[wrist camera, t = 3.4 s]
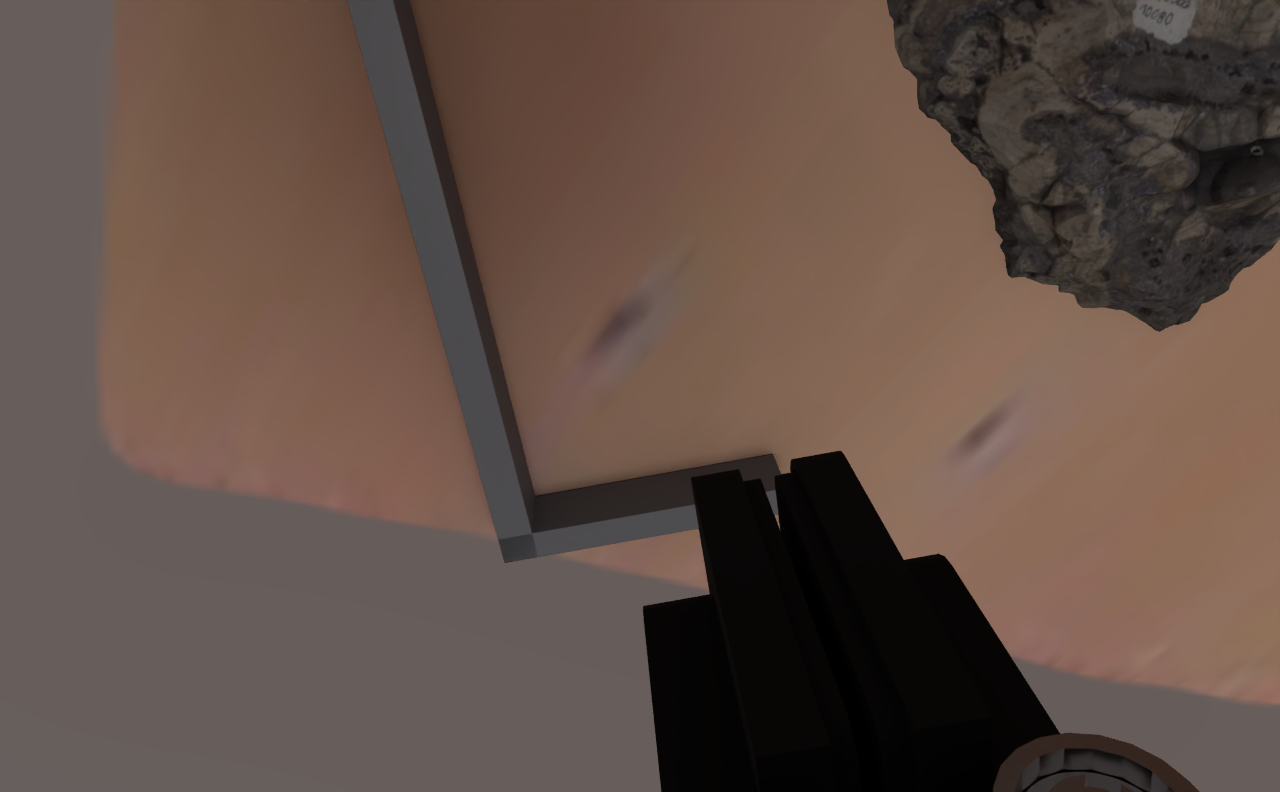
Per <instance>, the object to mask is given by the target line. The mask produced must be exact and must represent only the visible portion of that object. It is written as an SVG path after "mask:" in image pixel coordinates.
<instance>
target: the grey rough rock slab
mask: <svg viewBox="0 0 1280 792" xmlns="http://www.w3.org/2000/svg"><path fill="white" fill-rule="evenodd" d="M887 4H888V9H889V15H890V16H891V17H892V18H893V20H894V25H893V26H894V36H895V48H896V51H897V53H898V55H899V58H900V60H901V62H902V65H903V67H904V68H906V69H907V70H909V71H910V72H911V73H912V74H913V75H914V76H915V77H916V78H917V98H918V105H919V109H920V110H921V111H922V112H923V113H925V114H926V116H927V117H928V118H932V119H936V120H937V121H938V122H939V123H940V124H941V126H942V127H943V128H944V129H946V130H947V131H948V132H949V133H950V134H951V142H952V143H953V145H954V146H955V147H956V148H957V149H958V150H959V151H960V152H961V153H962V154H963V155H964V156H965V157H966V158H967V159H968V160H969V161H970V162H971V163H972V164H974V165H976V166H977V168H978V169H979V171H980V173H981V175H982V176H983V177H985V178H986V179H987V180H988V181H989V183H990V184H991V186H992V188H993V189H994V194H995V197H996V202H995V204H994V206H993V214H994V219H995V230H996V231H997V233H998V234H999V235H1000V237H1001V238H1002V239H1003V242H1002V243H1001V245H1000V247H1001V249H1002V251H1003V252H1004V254H1005V261H1006V268H1007V273H1008V275H1009V276H1010V277H1011V278H1014V277H1026V278H1029V279H1031V280H1034V281H1037V282H1039V283H1042V284H1048V285H1059V292H1066V293H1071V294H1074V295H1075V297H1076V300H1077V303H1078V304H1079V305H1080V306H1081V307H1082V308H1098V307H1106V308H1111V309H1115V310H1124V311H1126V312H1128V313H1130V314H1132V315H1133V316H1135V317H1137V318H1138V319H1140V320H1141V321H1143V322H1145V323H1146V324H1148V325H1149V326H1150V327H1152V328H1153V329H1154V330H1156V331H1159V332H1160V331H1162V330H1163V329H1165V328H1167V327H1169V326H1172V325H1179V324H1182V323H1185V322H1187V321H1190V320H1191V319H1192V318H1193V316H1194V315H1195V314H1196V313H1197V311H1198V309H1199V308H1200V306H1201V304H1202V303H1206V302H1209V301H1211V300H1212V299H1214V298H1216V297H1218V296H1220V295H1221V294H1223V293H1225V292H1226V291H1227V290H1229V286H1230V284H1231V282H1232V280H1233V279H1234V277H1235V276H1236V275H1237V274H1238V273H1239V272H1240V271H1241V270H1242V269H1243V268H1245V267H1249V266H1251V265H1252V264H1253V263H1254V262H1256V261H1257V260H1258V259H1259V258H1261V257H1262V256H1263V255H1265V254H1266V253H1267V252H1269V251H1270V250H1271V249H1272V248H1273V246H1274V245H1275V244H1276V243H1277V242H1278V240H1279V239H1280V0H887Z"/></svg>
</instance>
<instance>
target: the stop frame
mask: <svg viewBox="0 0 1280 792" xmlns="http://www.w3.org/2000/svg"><path fill="white" fill-rule="evenodd" d="M347 3H348V6H349V10H350V13H351V17H352V21H353V24H354V28H355V31H356V35H357V38H358V42H359V46H360V49H361V53H362V56H363V60H364V63H365V67H366V70H367V74H368V78H369V81H370V85H371V88H372V92H373V95H374V99H375V103H376V106H377V110H378V113H379V117H380V120H381V124H382V127H383V131H384V135H385V138H386V142H387V145H388V149H389V152H390V156H391V160H392V163H393V167H394V170H395V174H396V177H397V181H398V184H399V188H400V192H401V195H402V199H403V202H404V206H405V209H406V213H407V217H408V220H409V224H410V227H411V231H412V234H413V238H414V241H415V245H416V249H417V252H418V256H419V259H420V263H421V266H422V270H423V274H424V277H425V281H426V284H427V288H428V291H429V295H430V298H431V302H432V306H433V309H434V313H435V316H436V320H437V323H438V327H439V331H440V334H441V338H442V341H443V345H444V348H445V352H446V355H447V359H448V363H449V366H450V370H451V373H452V377H453V380H454V384H455V388H456V391H457V395H458V398H459V402H460V405H461V409H462V412H463V416H464V420H465V423H466V427H467V430H468V434H469V437H470V441H471V445H472V448H473V452H474V455H475V459H476V462H477V466H478V469H479V473H480V477H481V480H482V484H483V487H484V491H485V494H486V498H487V502H488V505H489V509H490V512H491V516H492V519H493V523H494V526H495V530H496V534H497V537H498V541H499V544H500V548H501V551H502V555H503V559H504V562H505V563H508V562H513V561H519V560H524V559H530V558H536V557H541V556H547V555H553V554H558V553H564V552H570V551H575V550H581V549H586V548H592V547H598V546H603V545H609V544H615V543H620V542H626V541H631V540H637V539H643V538H648V537H654V536H659V535H665V534H671V533H676V532H682V531H688V530H693V529H699V527H698V521H697V515H696V509H695V503H694V497H693V491H692V484H691V477H696V476H702V475H707V474H713V473H718V472H724V471H729V470H735V469H739V470H740V473H741V476H742V479H743V481H747V480H753V479H758V478H760V479H761V481H762V483H763V486H764V489H765V491H766V494H767V497H768V499H769V502H770V505H771V507H772V510H773V513H774V515H777V514H778V507H777V499H776V491H775V475H781V472H780V470H779V468H778V465H777V463H776V460H775V458H774V456H773V454H771V455H765V456H760V457H754V458H748V459H743V460H737V461H732V462H726V463H721V464H715V465H709V466H704V467H698V468H693V469H687V470H681V471H676V472H670V473H665V474H659V475H653V476H648V477H642V478H637V479H631V480H626V481H620V482H614V483H609V484H603V485H598V486H592V487H586V488H581V489H575V490H570V491H564V492H558V493H553V494H547V495H542V496H536V497H535V494H534V490H533V486H532V482H531V478H530V474H529V470H528V467H527V463H526V459H525V455H524V451H523V447H522V443H521V439H520V435H519V431H518V427H517V423H516V419H515V415H514V411H513V407H512V404H511V400H510V396H509V392H508V388H507V384H506V380H505V376H504V372H503V368H502V364H501V360H500V356H499V352H498V348H497V344H496V341H495V337H494V333H493V329H492V325H491V321H490V317H489V313H488V309H487V305H486V301H485V297H484V293H483V289H482V285H481V282H480V278H479V274H478V270H477V266H476V262H475V258H474V254H473V250H472V246H471V242H470V238H469V234H468V230H467V226H466V222H465V219H464V215H463V211H462V207H461V203H460V199H459V195H458V191H457V187H456V183H455V179H454V175H453V171H452V167H451V163H450V159H449V156H448V152H447V148H446V144H445V140H444V136H443V132H442V128H441V124H440V120H439V116H438V112H437V108H436V104H435V100H434V96H433V93H432V89H431V85H430V81H429V77H428V73H427V69H426V65H425V61H424V57H423V53H422V49H421V45H420V41H419V37H418V33H417V30H416V26H415V22H414V18H413V14H412V10H411V6H410V2H409V0H347Z"/></svg>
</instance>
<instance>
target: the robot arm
mask: <svg viewBox="0 0 1280 792" xmlns="http://www.w3.org/2000/svg"><path fill="white" fill-rule="evenodd" d="M790 470H791V473H786V474H781V475H775V491H776V499H777V507H778V515H779V524H780V529H779V526H778V524H777V521H776V518H775V516H774V513H773V510H772V507H771V505H770V502H769V499H768V497H767V494H766V491H765V489H764V486H763V483H762V481H761V479H760V478H758V479H753V480H747V481H743V479H742V476H741V473H740V470H739V469H735V470H729V471H724V472H718V473H713V474H707V475H702V476H696V477H691V484H692V491H693V497H694V503H695V509H696V515H697V521H698V527H699V532H700V538H701V544H702V550H703V556H704V562H705V568H706V574H707V580H708V586H709V592H710V594H709V595H703V596H698V597H692V598H687V599H681V600H675V601H670V602H664V603H659V604H653V605H647V606H643V616H644V625H645V636H646V646H647V655H648V665H649V675H650V685H651V694H652V703H653V704H652V705H653V714H654V724H655V734H656V742H657V743H656V744H657V753H658V763H659V773H660V782H661V792H1199V791H1198V790H1197V789H1196V788H1195V787H1194V786H1193V785H1192V784H1191V782H1190V781H1188V780H1187V779H1186V778H1184V777H1183V776H1182V775H1181V774H1180V773H1179V772H1177V771H1176V770H1175V769H1174V768H1172V767H1171V766H1170V765H1169V764H1167V763H1166V762H1165V761H1164V760H1162V759H1160V758H1158V757H1156V756H1154V755H1153V754H1150V753H1149V752H1146V751H1145V750H1143V749H1141V748H1139V747H1137V746H1135V745H1133V744H1130V743H1126V742H1123V741H1119V740H1116V739H1112V738H1109V737H1105V736H1101V735H1093V734H1078V733H1064V734H1060V733H1059V732H1058V730H1057V728H1056V726H1055V725H1054V723H1053V722H1052V720H1051V719H1050V717H1049V716H1048V714H1047V713H1046V711H1045V709H1044V708H1043V706H1042V705H1041V703H1040V702H1039V700H1038V698H1037V697H1036V695H1035V694H1034V692H1033V691H1032V689H1031V688H1030V686H1029V684H1028V683H1027V681H1026V680H1025V678H1024V677H1023V675H1022V674H1021V672H1020V670H1019V669H1018V667H1017V666H1016V664H1015V663H1014V661H1013V660H1012V658H1011V656H1010V655H1009V653H1008V652H1007V650H1006V649H1005V647H1004V646H1003V644H1002V642H1001V641H1000V639H999V638H998V636H997V635H996V633H995V632H994V630H993V628H992V627H991V625H990V624H989V622H988V621H987V619H986V618H985V616H984V614H983V613H982V611H981V610H980V608H979V607H978V605H977V604H976V602H975V600H974V599H973V597H972V596H971V594H970V593H969V591H968V590H967V588H966V586H965V585H964V583H963V582H962V580H961V579H960V577H959V576H958V574H957V572H956V571H955V569H954V568H953V566H952V565H951V564H950V562H949V561H948V560H947V559H946V557H945V556H942V555H940V554H935V555H929V556H924V557H918V558H912V559H907V560H903V558H902V556H901V554H900V553H899V551H898V549H897V547H896V545H895V544H894V542H893V540H892V538H891V537H890V535H889V533H888V531H887V530H886V528H885V526H884V524H883V522H882V521H881V519H880V517H879V515H878V514H877V512H876V510H875V508H874V507H873V505H872V503H871V501H870V499H869V498H868V496H867V494H866V492H865V491H864V489H863V487H862V485H861V484H860V482H859V480H858V478H857V476H856V475H855V473H854V471H853V469H852V468H851V466H850V464H849V462H848V461H847V459H846V457H845V455H844V454H843V453H842V451H836V452H830V453H824V454H819V455H813V456H808V457H802V458H797V459H791V465H790Z"/></svg>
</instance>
